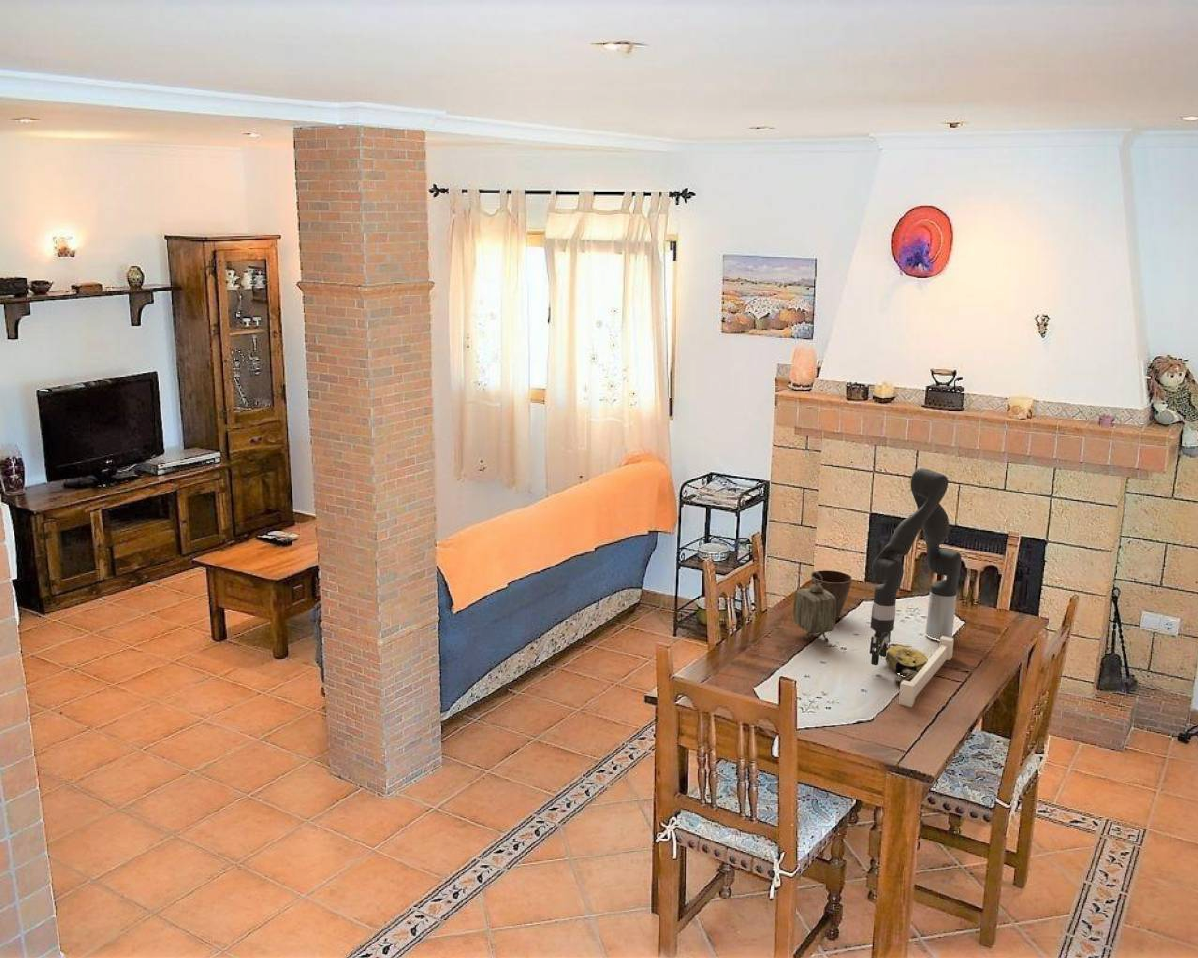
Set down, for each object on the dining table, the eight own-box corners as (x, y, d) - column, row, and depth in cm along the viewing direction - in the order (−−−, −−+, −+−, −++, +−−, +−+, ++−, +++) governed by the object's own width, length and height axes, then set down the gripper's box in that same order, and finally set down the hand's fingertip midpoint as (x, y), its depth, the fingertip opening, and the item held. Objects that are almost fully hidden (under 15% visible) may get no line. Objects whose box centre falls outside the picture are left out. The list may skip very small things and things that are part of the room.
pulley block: (884, 667, 355) (888, 635, 383) (880, 683, 356) (884, 650, 384) (929, 680, 352) (929, 646, 380) (924, 696, 353) (925, 661, 381)
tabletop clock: (833, 643, 391) (838, 577, 385) (811, 646, 387) (816, 580, 381) (811, 629, 404) (816, 565, 398) (790, 632, 400) (794, 567, 394)
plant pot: (801, 610, 422) (804, 571, 418) (835, 607, 427) (839, 568, 423) (820, 624, 408) (823, 584, 405) (855, 621, 413) (859, 581, 409)
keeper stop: (940, 654, 383) (942, 635, 382) (951, 657, 381) (953, 638, 380) (898, 703, 344) (900, 683, 342) (911, 707, 342) (913, 686, 340)
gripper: (879, 606, 374) (874, 651, 378) (865, 619, 362) (860, 664, 366) (900, 611, 370) (896, 656, 374) (887, 624, 359) (882, 670, 362)
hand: (878, 660), depth 370 cm, fingers open, 8 cm apart
